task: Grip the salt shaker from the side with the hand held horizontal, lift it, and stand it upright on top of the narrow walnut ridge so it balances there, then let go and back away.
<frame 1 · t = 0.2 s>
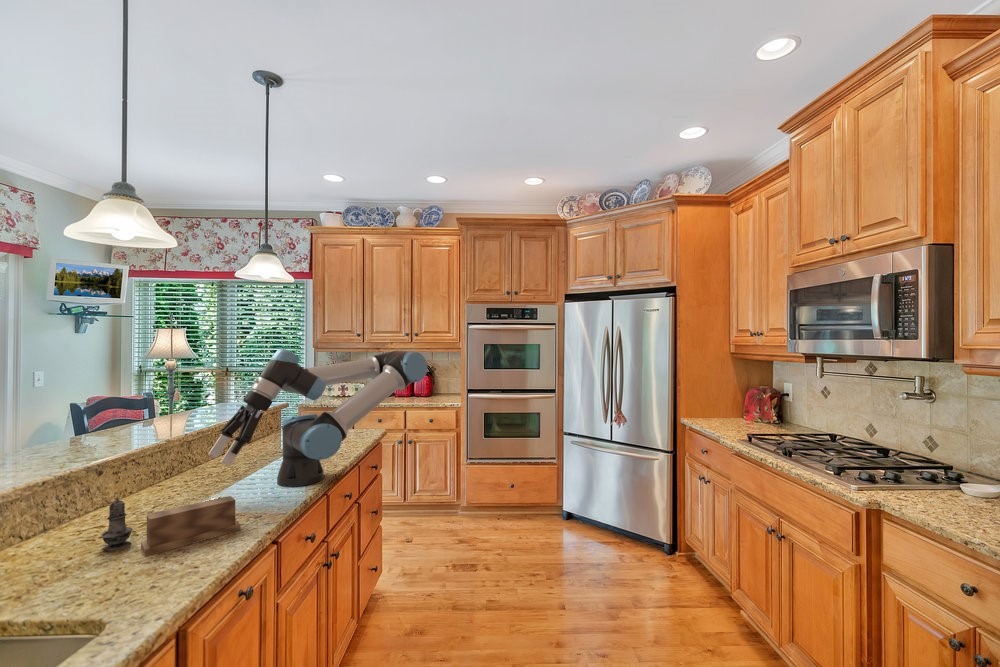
hand: (218, 460, 133), 15 cm above the countertop, tool tilted 35°, fingers open, 13 cm apart
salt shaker: (117, 547, 111), on the countertop
ridge: (192, 538, 115), on the countertop
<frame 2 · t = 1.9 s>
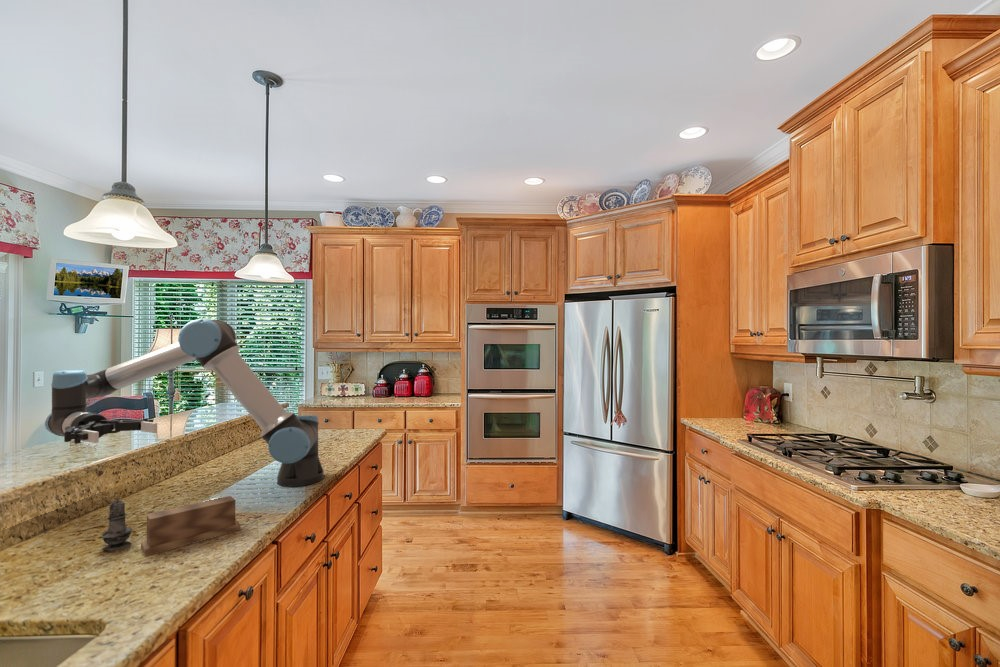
hand: (127, 432, 123), 25 cm above the countertop, tool horizontal, fingers open, 13 cm apart
nothing on the countertop moved.
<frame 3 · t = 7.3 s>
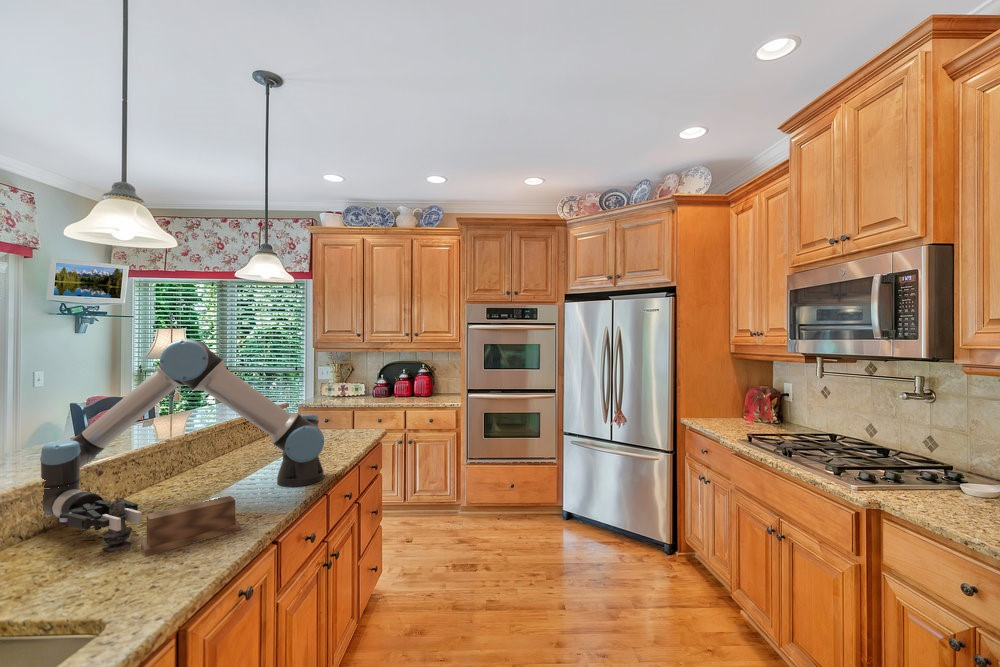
hand: (129, 521, 109), 7 cm above the countertop, tool horizontal, fingers closed on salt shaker, 4 cm apart
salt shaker: (117, 547, 111), on the countertop, touching gripper
everything else where it was.
when the fingers open (16 cm above the countertop, at t = 11.6 s): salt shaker stays where it is, resting on ridge.
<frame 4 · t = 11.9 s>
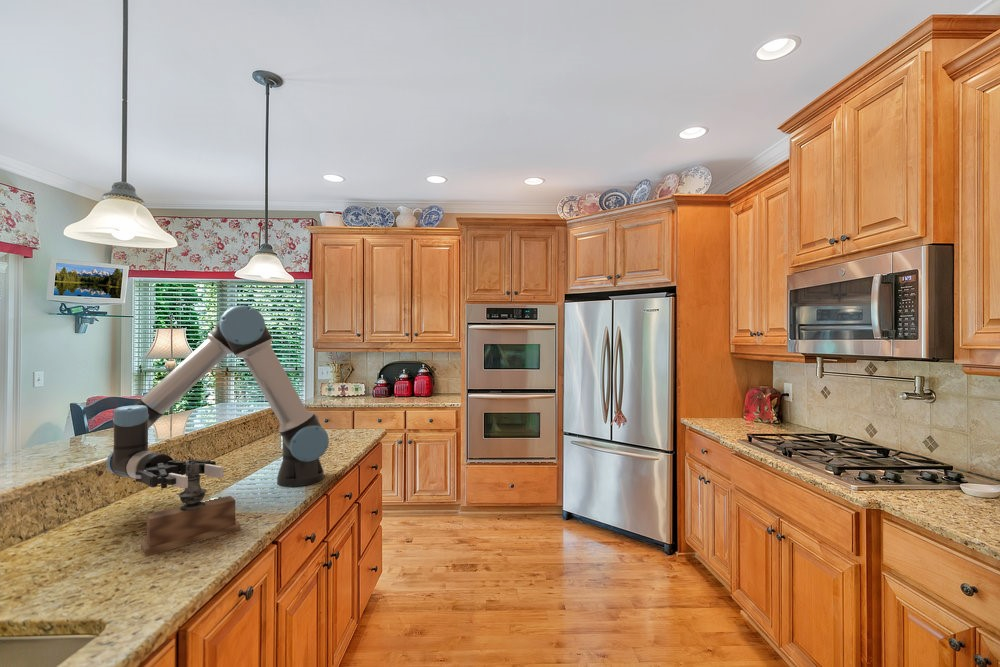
hand: (204, 477, 114), 16 cm above the countertop, tool horizontal, fingers open, 8 cm apart
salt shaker: (192, 507, 116), point 8 cm above the countertop, touching ridge
everything else where it was.
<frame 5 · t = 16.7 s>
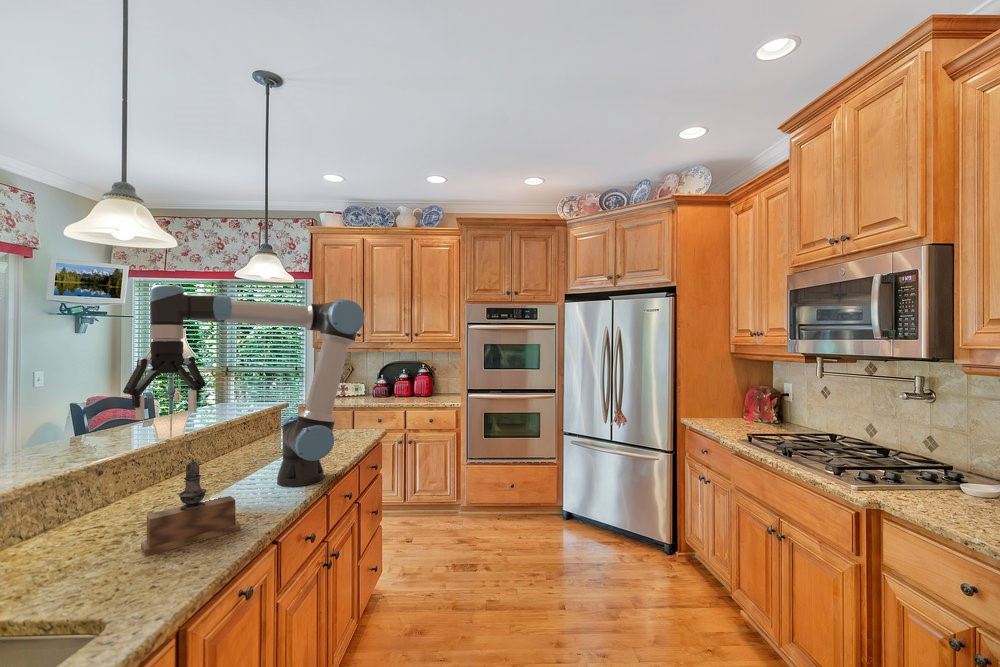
hand: (167, 415, 129), 29 cm above the countertop, tool pointing down, fingers open, 13 cm apart
nothing on the countertop moved.
at the end: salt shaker inside the target area on the ridge (0.0 cm from its centre), point 7.8 cm above the ridge's base; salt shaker tilted 0°; the gripper is holding nothing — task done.
